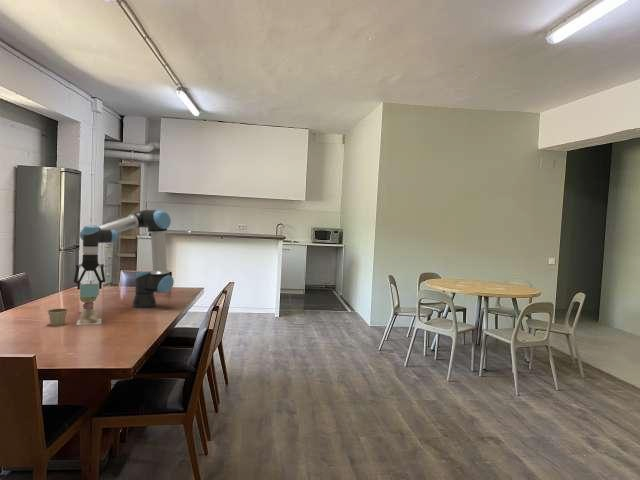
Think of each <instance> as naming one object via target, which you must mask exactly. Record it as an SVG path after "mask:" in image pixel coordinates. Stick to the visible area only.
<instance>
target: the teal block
mask: <svg viewBox="0 0 640 480" xmlns="http://www.w3.org/2000/svg"><path fill="white" fill-rule="evenodd" d="M98 296H99V295H98V283H82V285H81V297H97V298H98Z"/></svg>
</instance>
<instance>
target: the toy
mask: <svg viewBox="0 0 640 480" xmlns="http://www.w3.org/2000/svg"><path fill="white" fill-rule="evenodd" d="M97 298H98V296H97V297H81V296H80V295H79V299H80V301H81V302H82V303H84V304H82V307H83V309H82V310H92V309H95V308H94V304H95V301H96V300H97Z"/></svg>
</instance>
